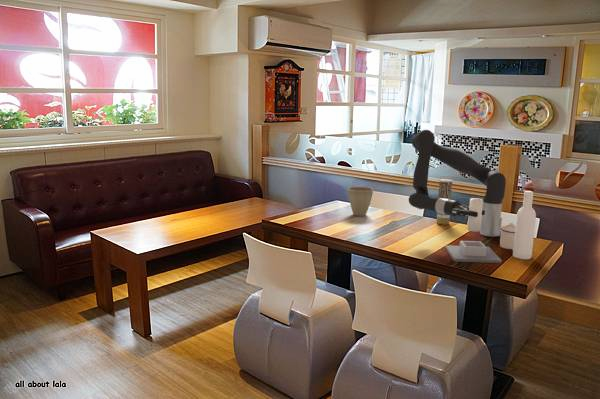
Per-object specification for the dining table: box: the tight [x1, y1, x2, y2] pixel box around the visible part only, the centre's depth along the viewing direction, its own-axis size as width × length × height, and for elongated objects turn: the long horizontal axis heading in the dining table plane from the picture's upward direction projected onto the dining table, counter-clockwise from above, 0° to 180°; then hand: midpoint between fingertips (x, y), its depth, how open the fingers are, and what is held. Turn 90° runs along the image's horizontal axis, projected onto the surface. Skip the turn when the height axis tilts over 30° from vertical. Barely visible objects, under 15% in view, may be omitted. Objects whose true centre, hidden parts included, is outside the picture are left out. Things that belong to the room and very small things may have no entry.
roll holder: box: [444, 240, 503, 264], centre depth 226 cm, size 20×20×5 cm
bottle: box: [512, 190, 537, 260], centre depth 222 cm, size 8×8×30 cm
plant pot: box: [347, 186, 374, 217], centre depth 299 cm, size 15×15×16 cm
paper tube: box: [436, 178, 453, 226], centre depth 279 cm, size 7×7×25 cm
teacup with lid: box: [499, 222, 516, 250], centre depth 239 cm, size 12×9×12 cm
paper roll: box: [467, 197, 483, 233], centre depth 223 cm, size 5×5×14 cm
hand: (480, 213), depth 221 cm, fingers closed on paper roll, 5 cm apart
